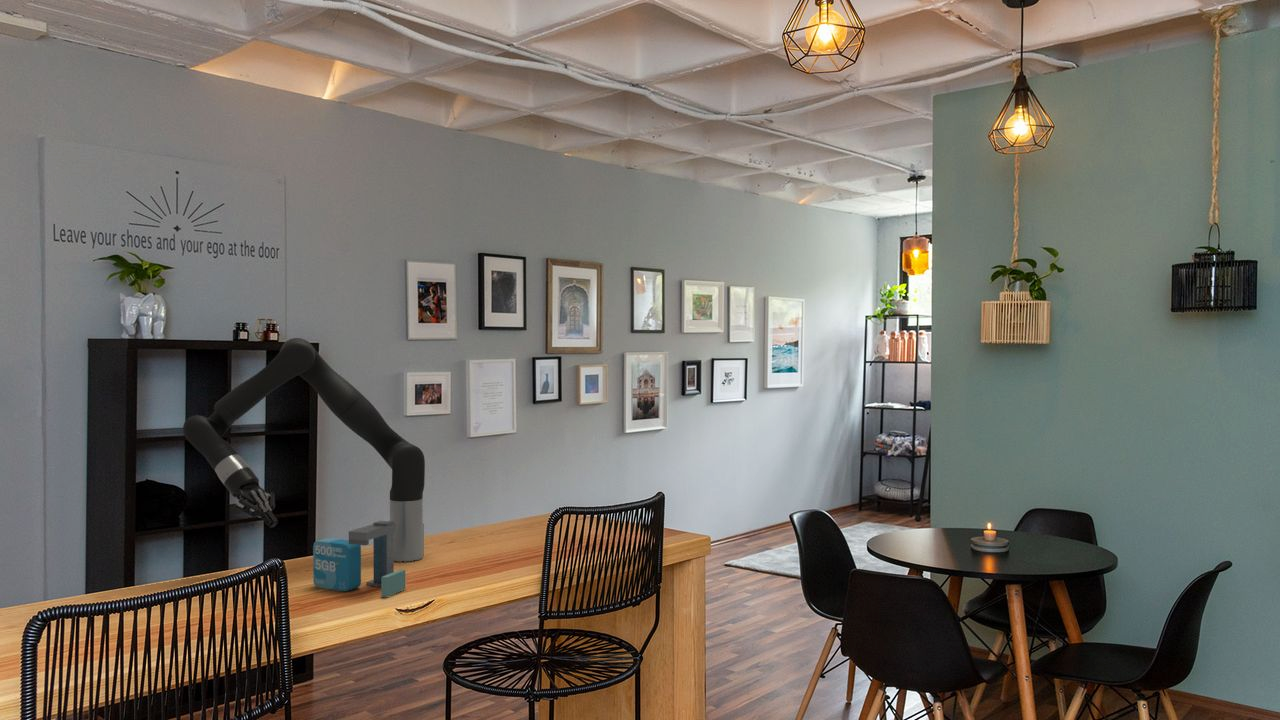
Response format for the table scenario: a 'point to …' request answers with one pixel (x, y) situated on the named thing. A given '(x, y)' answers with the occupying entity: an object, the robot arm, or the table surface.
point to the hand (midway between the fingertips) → (274, 525)
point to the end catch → (392, 583)
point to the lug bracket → (377, 547)
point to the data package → (336, 564)
